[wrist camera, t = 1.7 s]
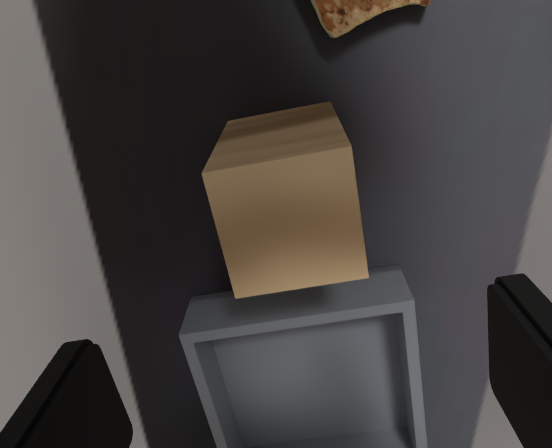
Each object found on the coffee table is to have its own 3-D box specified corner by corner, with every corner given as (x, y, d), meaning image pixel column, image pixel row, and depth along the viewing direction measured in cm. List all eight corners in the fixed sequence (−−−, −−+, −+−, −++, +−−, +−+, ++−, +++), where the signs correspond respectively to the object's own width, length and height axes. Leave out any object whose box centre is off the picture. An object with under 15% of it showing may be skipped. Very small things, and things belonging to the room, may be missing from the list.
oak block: (227, 120, 23) (201, 173, 16) (330, 101, 23) (351, 145, 15) (249, 213, 25) (235, 298, 18) (344, 197, 25) (368, 278, 17)
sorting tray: (191, 296, 27) (178, 335, 24) (398, 264, 26) (414, 300, 23) (238, 447, 32) (233, 495, 29) (414, 425, 31) (429, 473, 28)
